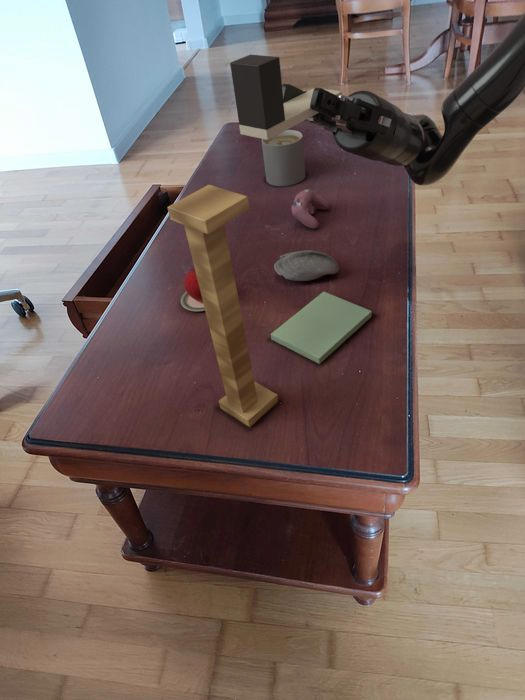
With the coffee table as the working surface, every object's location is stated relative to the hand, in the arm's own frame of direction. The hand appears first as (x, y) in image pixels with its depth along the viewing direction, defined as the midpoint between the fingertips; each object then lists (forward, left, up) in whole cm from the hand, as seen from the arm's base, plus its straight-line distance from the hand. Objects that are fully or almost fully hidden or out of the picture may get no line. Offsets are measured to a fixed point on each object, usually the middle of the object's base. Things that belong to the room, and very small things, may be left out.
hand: (298, 95), depth 57 cm
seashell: (+14, -15, -37) cm, 43 cm away
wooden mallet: (0, +1, -2) cm, 2 cm away
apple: (+25, +2, -37) cm, 45 cm away
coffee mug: (+47, -47, -37) cm, 76 cm away
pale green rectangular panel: (+2, -4, -37) cm, 38 cm away
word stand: (0, +15, -37) cm, 40 cm away
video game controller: (+27, -32, -37) cm, 56 cm away
